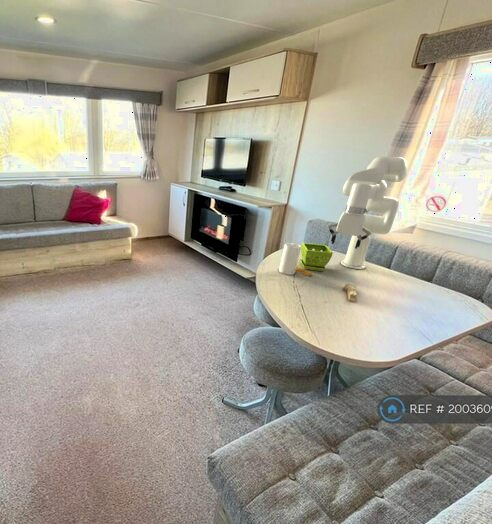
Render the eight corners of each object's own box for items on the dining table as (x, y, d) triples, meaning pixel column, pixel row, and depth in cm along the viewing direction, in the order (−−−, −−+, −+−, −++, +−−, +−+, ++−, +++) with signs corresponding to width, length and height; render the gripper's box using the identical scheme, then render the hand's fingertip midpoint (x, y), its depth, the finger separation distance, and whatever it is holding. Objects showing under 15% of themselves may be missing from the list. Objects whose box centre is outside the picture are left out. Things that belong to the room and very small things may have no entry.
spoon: (357, 302, 145) (360, 296, 144) (345, 300, 147) (347, 293, 146) (354, 289, 158) (356, 283, 156) (343, 287, 160) (345, 281, 158)
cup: (296, 275, 172) (302, 248, 166) (280, 273, 173) (286, 246, 167) (292, 269, 179) (298, 243, 173) (277, 268, 181) (283, 242, 175)
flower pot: (296, 261, 192) (301, 242, 187) (321, 264, 189) (327, 245, 184) (301, 270, 179) (306, 249, 175) (327, 273, 176) (333, 252, 171)
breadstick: (292, 269, 179) (293, 266, 179) (295, 269, 180) (295, 266, 180) (309, 276, 171) (310, 273, 171) (311, 275, 172) (312, 272, 172)
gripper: (378, 212, 141) (366, 248, 147) (334, 206, 150) (325, 240, 157) (377, 214, 135) (364, 251, 141) (332, 208, 145) (322, 243, 151)
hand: (344, 245), depth 149 cm, fingers open, 9 cm apart
